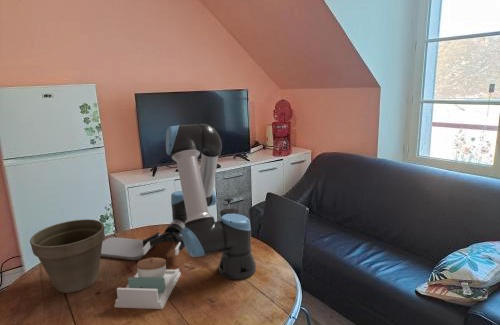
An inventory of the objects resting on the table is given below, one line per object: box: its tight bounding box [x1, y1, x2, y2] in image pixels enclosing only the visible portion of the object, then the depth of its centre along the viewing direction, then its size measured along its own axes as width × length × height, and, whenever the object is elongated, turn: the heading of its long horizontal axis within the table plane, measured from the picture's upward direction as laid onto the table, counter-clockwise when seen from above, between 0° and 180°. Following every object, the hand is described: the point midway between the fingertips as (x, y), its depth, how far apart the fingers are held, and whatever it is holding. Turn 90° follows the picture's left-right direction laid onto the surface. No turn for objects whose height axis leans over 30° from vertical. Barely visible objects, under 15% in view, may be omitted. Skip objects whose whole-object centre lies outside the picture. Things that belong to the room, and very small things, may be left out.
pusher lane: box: [114, 268, 182, 310], centre depth 126 cm, size 22×17×7 cm
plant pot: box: [29, 218, 106, 294], centre depth 131 cm, size 25×25×22 cm
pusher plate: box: [127, 276, 165, 292], centre depth 124 cm, size 1×13×5 cm, turn 85°
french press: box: [219, 198, 240, 218], centre depth 159 cm, size 12×9×23 cm
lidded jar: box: [136, 257, 167, 278], centre depth 129 cm, size 11×11×9 cm
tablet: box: [100, 236, 154, 261], centre depth 159 cm, size 16×26×2 cm, turn 75°
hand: (159, 252), depth 138 cm, fingers open, 13 cm apart
